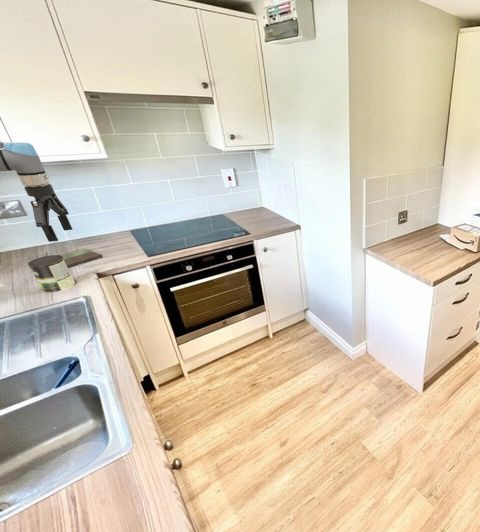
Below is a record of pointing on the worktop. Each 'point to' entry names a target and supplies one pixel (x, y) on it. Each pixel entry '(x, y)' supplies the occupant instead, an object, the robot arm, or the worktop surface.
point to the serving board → (80, 257)
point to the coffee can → (51, 273)
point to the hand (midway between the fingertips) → (61, 235)
